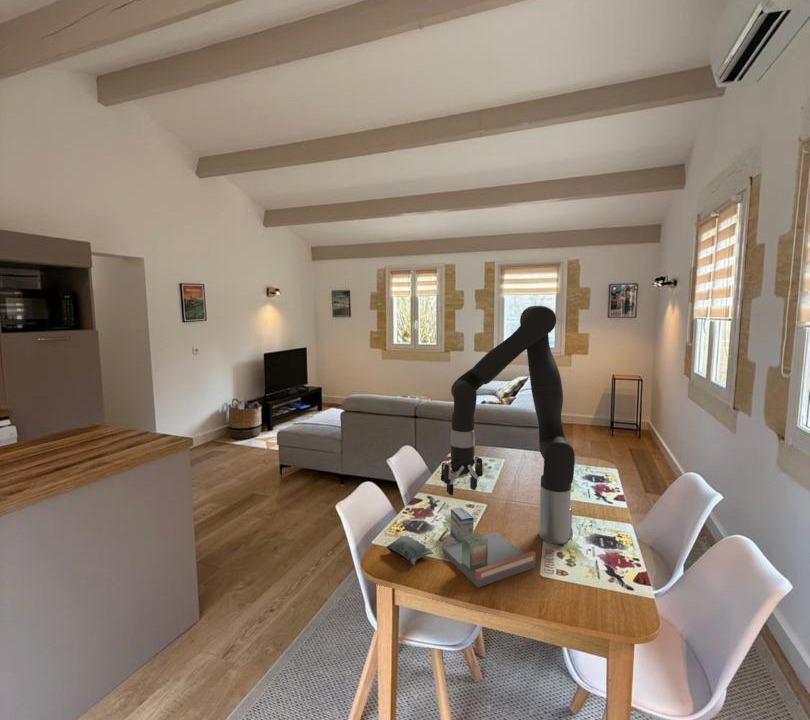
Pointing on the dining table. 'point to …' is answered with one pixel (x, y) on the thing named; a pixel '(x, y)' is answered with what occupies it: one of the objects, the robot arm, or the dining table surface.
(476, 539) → the sage tin
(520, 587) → the dining table surface
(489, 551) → the shelf
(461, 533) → the medicine box
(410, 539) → the grey bean bag
